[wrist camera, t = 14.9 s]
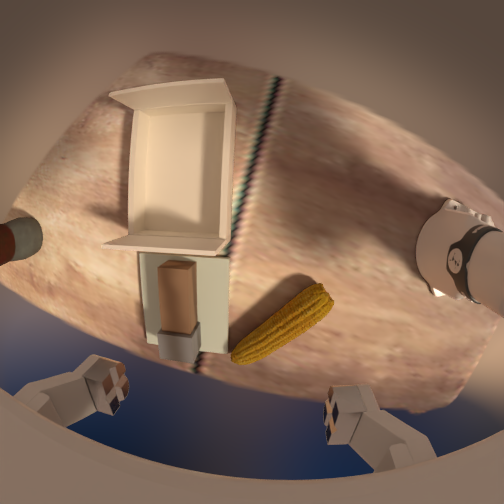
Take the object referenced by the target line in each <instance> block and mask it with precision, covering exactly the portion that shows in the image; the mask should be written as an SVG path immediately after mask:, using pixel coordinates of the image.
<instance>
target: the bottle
mask: <svg viewBox="0 0 504 504" xmlns="http://www.w3.org/2000/svg"><path fill="white" fill-rule="evenodd" d="M42 241H43V234H42V229H41V226H40V224H39V223H38V221H37V220H35V219H34V218H17V219H14V220H11V221H9V222H7V223H4V224H0V266H1V265H3V264H5V263H7V262H9V261H17V260H23V259H26V258H28V257H30V256H32V255H34V254H35V253H37V252H38V251H39V250H40V248H41V246H42Z"/></svg>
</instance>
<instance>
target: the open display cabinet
mask: <svg viewBox="0 0 504 504" xmlns="http://www.w3.org/2000/svg"><path fill="white" fill-rule="evenodd" d="M109 97H111V98H113V99H115V100H117V101H118V102H120V103H122V104H124V105H126V106H128V107H130V108H131V109H133V110H134V115H133V124H132V134H131V146H130V161H129V183H128V235H127V236H124V237H121V238H118V239H115V240H112V241H109V242H106V243H104V244H101V245H102V249H115V250H129V251H144V252H159V253H175V254H191V255H206V256H216V255H217V253H218V252H219V251H220V250H221V249H222V248H223V247H224V245H226V244H227V243H228V242H229V241H230V240H231V216H232V191H233V169H234V149H235V131H236V113H237V107H236V104H235V102H234V99H233V98H232V96H231V93H230V91H229V89H228V86H227V84H226V82H225V79H224V78H216V79H199V80H187V81H177V82H168V83H160V84H153V85H146V86H140V87H135V88H129V89H124V90H119V91H114V92H110V93H109Z"/></svg>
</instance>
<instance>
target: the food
mask: <svg viewBox="0 0 504 504" xmlns="http://www.w3.org/2000/svg"><path fill="white" fill-rule="evenodd" d="M333 305H334V300H332V298H331V297H330V295H329V293H327V292H326V291H325V289H324V287H323V284H321V283H319V284H314V285H311V286H309V287H308V288H306V289H304V290H303V291H302V292H300V293H299V294H298V295H297V296H296V297H295V298H293V299H292V300H290V302H288V303H287V304H286V305H284V307H283V308H281V309H280V310H279V311H277V312H276V313H275V314H274V315H272V316H271V317H270V318H269V319H268V320H267V321H265V322H264V323H263V324H261V325H260V326H259V327H258V328H256V329H255V330H254V331H253V332H251V333H250V334H249V335H247V337H245V338H244V339H242V340H241V341H240V342H239V344H238V345H237V346H236V347H235V348H234V349H233V351H232V353H231V359H232V360H231V361H232V362H234V363H237V364H238V365H246V364H250V363H253V362H256V361H258V360H260V359H262V358H264V357H266V356H267V355H269V354H271V353H272V352H274V351H276V350H277V349H278V348H280V347H282V346H283V345H285V344H287V343H288V342H290V341H291V340H293V339H295V338H296V337H298V336H299V335H301V334H302V333H304V332H305V331H307V330H308V329H309V328H311V327H312V326H314V325H315V324H317V322H319V321H321V319H323V318H324V317H325V316H326V315H327V314H328V313H329V311H330V310H331V309H332V306H333Z"/></svg>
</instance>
